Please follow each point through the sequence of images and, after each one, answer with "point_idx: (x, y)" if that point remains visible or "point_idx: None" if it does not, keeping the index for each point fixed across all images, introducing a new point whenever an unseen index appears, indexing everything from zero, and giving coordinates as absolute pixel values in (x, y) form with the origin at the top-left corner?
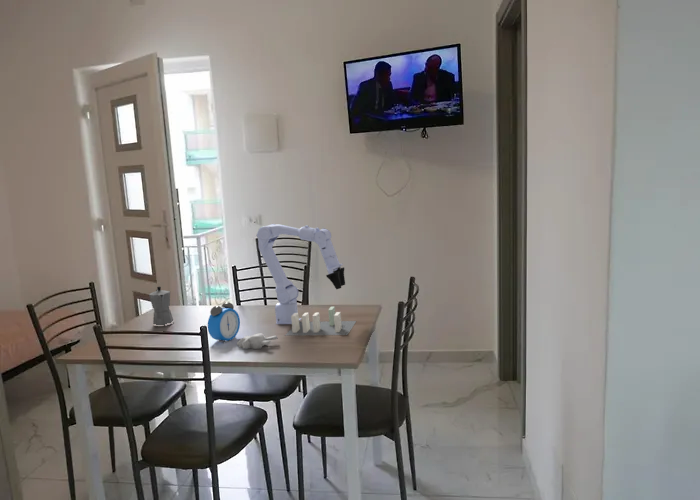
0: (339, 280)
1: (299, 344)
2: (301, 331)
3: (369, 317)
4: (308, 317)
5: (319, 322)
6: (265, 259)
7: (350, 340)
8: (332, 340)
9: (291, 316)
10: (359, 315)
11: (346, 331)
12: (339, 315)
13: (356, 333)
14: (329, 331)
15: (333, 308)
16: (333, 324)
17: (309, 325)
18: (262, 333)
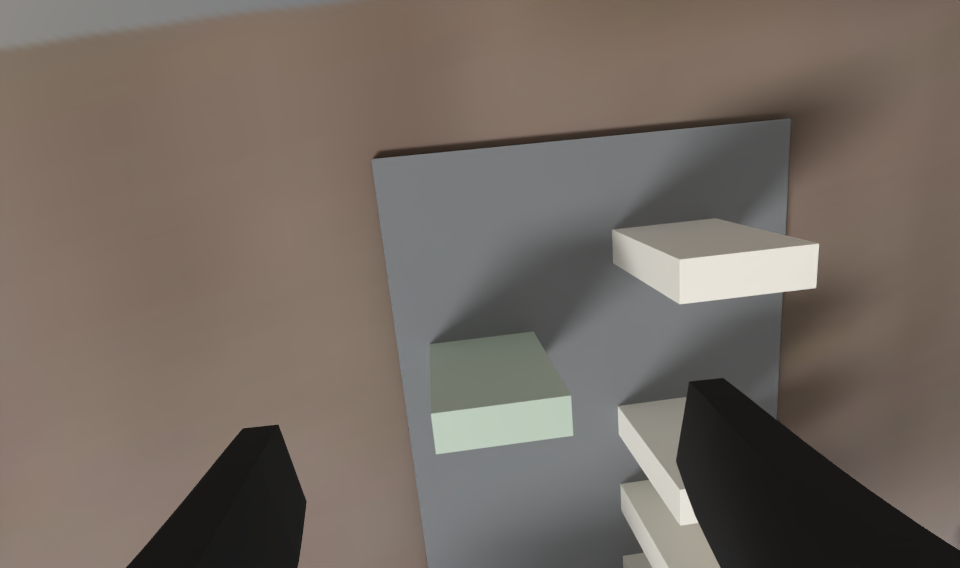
0: (886, 517)
1: (943, 418)
2: None
3: (192, 61)
4: (683, 551)
5: (658, 433)
6: None
7: (903, 54)
8: (886, 210)
9: None
10: (137, 195)
11: (699, 156)
12: (724, 248)
13: (722, 54)
14: (693, 306)
15: (495, 402)
16: (525, 335)
17: (641, 501)
18: None
